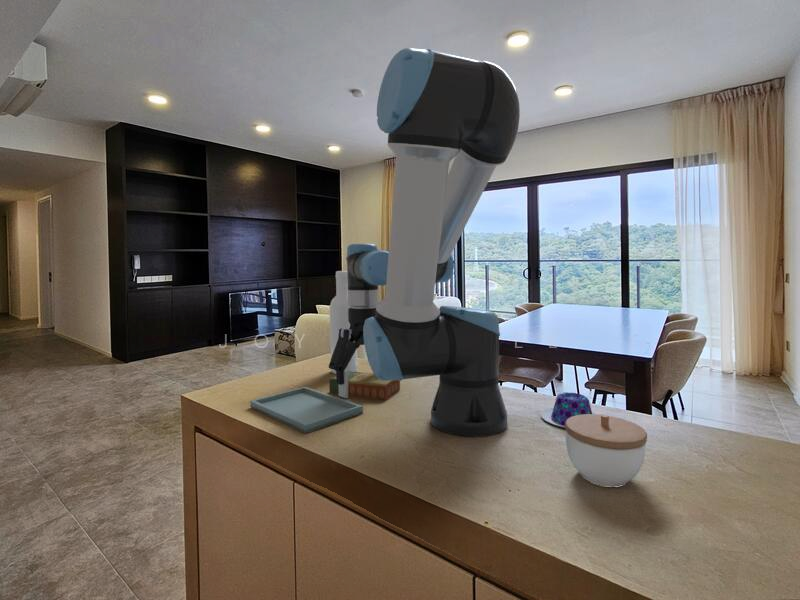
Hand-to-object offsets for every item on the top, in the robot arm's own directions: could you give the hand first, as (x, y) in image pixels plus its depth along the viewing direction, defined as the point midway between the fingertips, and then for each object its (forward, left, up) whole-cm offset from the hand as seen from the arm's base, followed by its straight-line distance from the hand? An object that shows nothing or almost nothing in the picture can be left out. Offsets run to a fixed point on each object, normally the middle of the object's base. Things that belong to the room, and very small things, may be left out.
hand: (364, 390), depth 105 cm
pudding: (-46, -15, -1) cm, 48 cm away
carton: (0, 0, -1) cm, 1 cm away
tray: (-1, +18, 0) cm, 18 cm away
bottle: (+19, -9, 0) cm, 21 cm away
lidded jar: (-58, +5, 0) cm, 58 cm away
